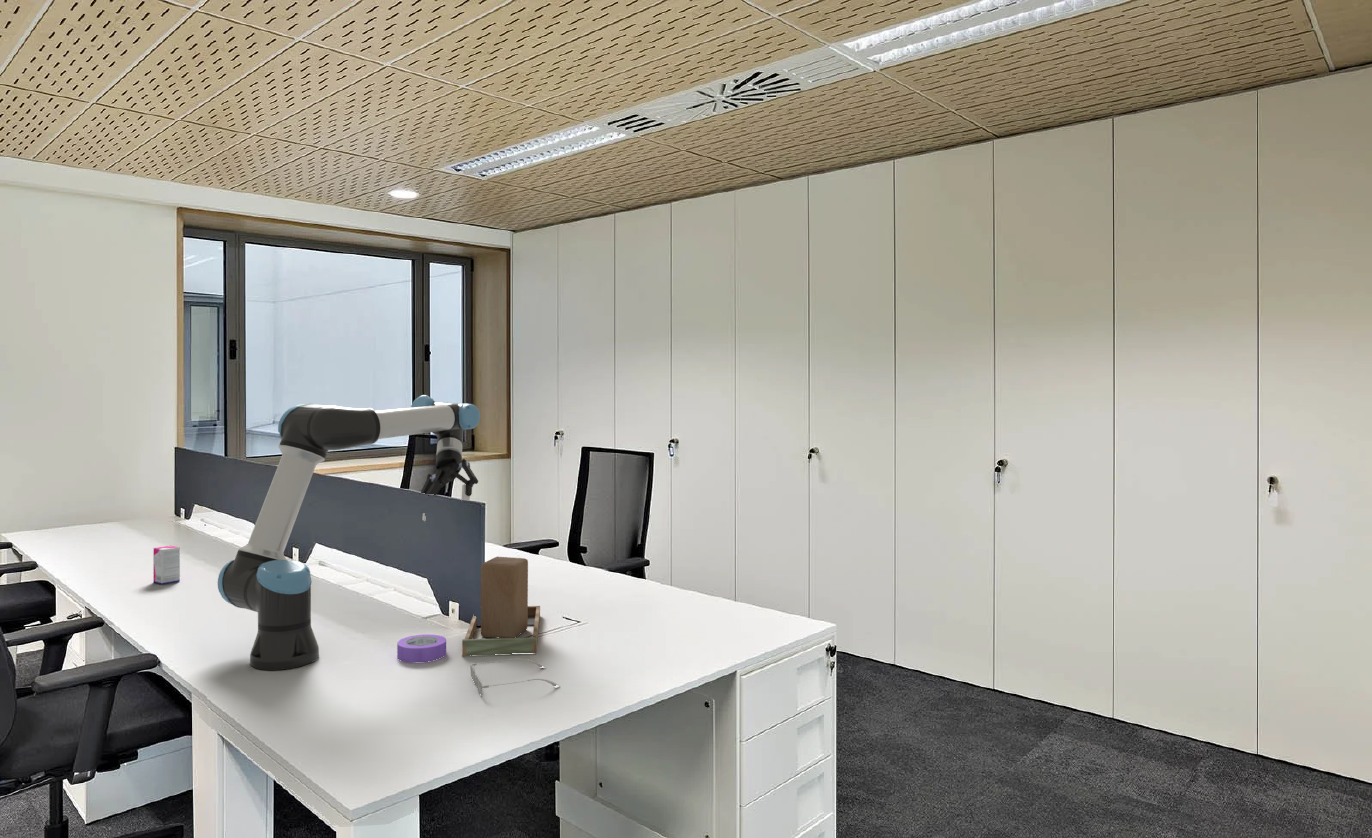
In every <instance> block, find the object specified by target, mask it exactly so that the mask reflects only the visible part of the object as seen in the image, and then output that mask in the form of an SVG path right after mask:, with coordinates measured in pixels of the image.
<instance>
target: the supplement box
mask: <svg viewBox="0 0 1372 838" xmlns="http://www.w3.org/2000/svg"><path fill="white" fill-rule="evenodd" d="M180 550H181V549H180V547H177V546H175V545H174V546H172V545H167V546H158V547H153V584H157V585H161V586H166V585H170V584H176V583H178V582H180V581H181V579H180V577H181V574H180V573H181V568H180V566H181V565H180V564H181V563H180V562H181V556H180V555H181V552H180Z"/></svg>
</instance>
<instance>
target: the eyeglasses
mask: <svg viewBox="0 0 1372 838" xmlns="http://www.w3.org/2000/svg"><path fill="white" fill-rule="evenodd" d="M515 660H523V661H529V662H531V663H532V664H535V665H536V666H537V667H538V668H539V667H542V666H544V665H543V664H541V663H540V662H537V661H535V660H532V659H528V658H518V657H517V658H510V659H509V661H515ZM504 661H505V662H506V661H507V659H503V660H501V662H504ZM496 662H499V660H497V661H495V660H494V661H493V663H496ZM490 663H491V661H487V662H486V664H490ZM482 664H485V662H481V663H479V665H482ZM477 665H478V663H476V662H475V663H473V662H472V663H470V665H469V666H470V667H469V668H470V678H471V677H472V679H473V680H472V679H471V680H472V682H473V681H474V682H473V684H474V683H475V684H476V689H477V688H478V691H479V692H478V691H477V692H478V694H479V693H480V694H481V695H482V696H483V689H488V688H489V687H494V686H497V684H492V685H489V684H485V685H484V684H482V681H481V679H480V678H479V676H478V674H477V673H476V671H475V668H474V667H475V666H477ZM530 681H531V682H532V681H544V682H547V683H548V684H550V685H551V686H556V685H558V684H557V683H556V682H553V681H551V680H548V679H544V678H532V679H527V680H526V682H530ZM524 682H525V680H522V681H520V683H524ZM517 683H519V681H517V682H515V681H514V682H513V684H517ZM511 684H512V682H508V683H506V685H511ZM502 685H504V686H505V683H502V684H501V683H499V684H498V686H502ZM480 694H479V695H480Z"/></svg>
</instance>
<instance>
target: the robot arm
mask: <svg viewBox="0 0 1372 838" xmlns="http://www.w3.org/2000/svg"><path fill="white" fill-rule="evenodd" d="M480 420H481V413H480V410H479V408H478V407H477V406H476V405H475V404H473V403H467V402H465V403H462V402H461V403H460V402H459V403H458V402H444V401H443V402H441V401H440V402H439V401H438V402H437V401H435V400H434V399H433V398H432V397H430V396H429V395H427V394H422V395H420V396H418V397H417V398H415V399H414V400H413V402H412V403H411V405H410V407H405V408H403V407H402V408H396V409H395V408H393V409H392V408H391V409H383V410H375V409H374V408H371V407H361V408H359V407H358V408H357V407H348V406H347V407H346V406H338V405H325V404H314V403H303V404H297V405H294V406H292V407H289V408H288V409H287V410H286V411H285V412H284V413H283V414H282V416H281V417H280V419H279V421H278V426H277V432H278V433H279V438H280V442H279V445H278V448H279V451H280V453H281V457H280V460H279V463H278V465H277V468H276V469H275V473H274V475H273V478H272V481H271V484H270V486H269V488H268V490H267V494H266V496H265V499H264V502H263V504H262V506H261V509H260V512H259V514H258V517H257V519H256V521H255V525H254V527H253V530H252V532H251V535H250V537H249V540H248V542H247V544H246V545H244V546H242V547H240V548H238V550H237V553H236V555H235V558H234V559H232V560H230V561H229V562H227V563H226V564H225V565H223V567H222V568H221V570H220V572H219V574H218V577H217V590H218V593H219V594H220V597H221V598H222V599H223V600H224V601H225V602H227V604H230V605H232V606H234V607H236V608H240V609H244V610H245V609H246V610H249V611H253V612H255V613H257V634H256V637H255V639H254V642H253V645H252V648H251V651H250V654H249V663H250V664H249V665H250V666H251V667H252V668H254V669H257V670H261V671H262V670H264V671H279V670H280V671H281V670H291V669H294V668H295V669H296V668H299V667H303V666H307V665H309V664H311V663H313V662H315V661H317V660H318V659H319V657H320V648H319V643H318V641H317V639H316V637H315V633H314V630H313V628H312V617H311V616H312V608H311V607H312V598H311V597H312V595H311V594H312V593H311V592H312V577H311V575H312V574H311V570H310V568H309V566H308V565H306V564H305V563H304V562H300V561H297V560H287V559H286V556H285V555H284V552H285V551H286V550H285V549H286V547H287V544H288V541H289V539H290V536H291V534H292V531H293V528H294V525H295V523H296V520H297V517H298V515H299V511H300V509H301V506H302V505H303V501H304V500H305V496H306V494H307V491H308V487H309V485H310V482H311V480H312V476H313V474H314V472H315V469H316V466H317V465H319V464H321V463H323V462H325V460H326V457H327V455H328V453H329V451H339V450H345V449H349V448H350V449H351V448H356V447H361V446H366V445H372V444H375V443H377V442H378V441H379V440H383V439H391V438H398V437H405V436H412V435H413V436H414V435H420V434H429V433H432V434H434V435H435V436H436V437H437V443H436V444H437V445H436V454H435V455H436V456H435V458H436V459H435V468H436V472H435V473H434V474H431V473H428V474H427V476H426V479H425V483H424V484H423V487H422V488H421V490H420V492H421V493H425V494H434V495H436V496H437V494H438V493H439V491H440V490H441V489H442V488H444V486H445V485H447V484H448V483H450V482H454V481H455V479H458V480H459V481H460V482H462V483H463V484H462V485H461V501H462V500H468V501H471V500H470V499H471V496H472V495H473V487H474V485H475V484H476V485H477V484H479V480H478V478H477V477H476V475H475V473H474V472H473V470H472V469H471V464H470V462H469V461H467V460H466V459H465V458H463V441H464V440H463V439H464V431H465V430H472V429H473V430H474V429H475V428H476V427H478V424H479V422H480ZM462 469H463V470H464V472H465V474H466V476H467V477H468V478H469V479H466V477H464V476H463V475H461V474H460V472H461V470H462ZM440 482H441V483H440ZM428 496H429V495H428ZM422 521H423V522H425V521H426V516H425V513H422Z"/></svg>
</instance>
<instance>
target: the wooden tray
mask: <svg viewBox="0 0 1372 838" xmlns="http://www.w3.org/2000/svg"><path fill="white" fill-rule="evenodd" d="M540 618H541V605H529V606H528V625H534V626H533V632H532V637H516V638H474V635H475V633H474V632H476V631H475V630H477V628H478V627H477V617H476V616H474V614H473V616H472V618H471V620H470V622H469V623H470V624H469V626H468V629H467V631H466V634H465V636H464V638H463V639H462V641H461V643H462V644H461V647H462V648H461V653H462V654H461V656H462V657H473V656H472V655H495V654H512V653H536V654H537V648H536V647H537V646H538V639H537V638H538V637H539V630H538V629H539V628H540V627H539V626H540V621H541V620H540ZM539 620H540V621H539ZM476 627H477V628H476ZM472 638H473V639H472ZM470 655H471V656H470Z"/></svg>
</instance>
